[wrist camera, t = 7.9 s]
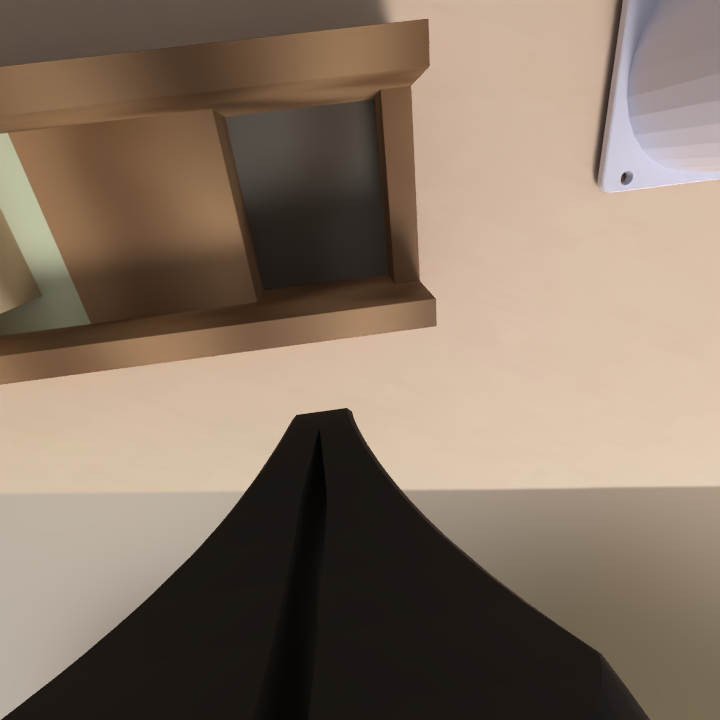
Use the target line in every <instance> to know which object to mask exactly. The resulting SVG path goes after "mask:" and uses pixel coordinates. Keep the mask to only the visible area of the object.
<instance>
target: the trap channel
mask: <svg viewBox="0 0 720 720" xmlns="http://www.w3.org/2000/svg"><path fill="white" fill-rule="evenodd" d="M429 66H430V63H429V26H428V19H422V20H413V21H404V22H395V23H386V24H377V25H368V26H359V27H350V28H341V29H333V30H324V31H315V32H306V33H297V34H288V35H279V36H270V37H261V38H252V39H243V40H235V41H226V42H217V43H208V44H199V45H190V46H181V47H172V48H163V49H154V50H145V51H137V52H128V53H119V54H110V55H101V56H92V57H83V58H74V59H65V60H56V61H47V62H39V63H30V64H21V65H12V66H3V67H0V208H1V210H2V212H3V214H4V217H5V219H6V221H7V223H8V225H9V227H10V229H11V231H12V233H13V235H14V238H15V240H16V242H17V244H18V246H19V248H20V250H21V252H22V254H23V256H24V258H25V261H26V263H27V265H28V267H29V269H30V271H31V273H32V275H33V277H34V279H35V282H36V284H37V286H38V288H39V290H40V292H41V294H42V296H41V297H39V298H36V299H34V300H32V301H29V302H27V303H25V304H22V305H20V306H17V307H15V308H13V309H10V310H8V311H6V312H3V313H1V314H0V385H1V384H8V383H16V382H23V381H31V380H38V379H45V378H53V377H60V376H68V375H75V374H83V373H90V372H98V371H105V370H113V369H120V368H127V367H135V366H142V365H150V364H157V363H165V362H172V361H180V360H187V359H195V358H202V357H209V356H217V355H224V354H232V353H239V352H247V351H254V350H262V349H269V348H277V347H284V346H291V345H299V344H306V343H314V342H321V341H329V340H336V339H344V338H351V337H359V336H366V335H373V334H381V333H388V332H396V331H403V330H411V329H418V328H426V327H433V326H436V298H435V297H434V296H433V295H432V294H431V293H430V292H429V291H428V290H427V289H426V287H425V286H424V285H423V284H422V283H421V282H420V279H419V256H418V233H417V211H416V188H415V166H414V143H413V121H412V98H411V85H412V84H413V83H414V82H415V81H416V80H417V79H418V78H419V77H420V76H421V75H422V74H423V72H424V71H425V70H426V69H427V68H428V67H429Z"/></svg>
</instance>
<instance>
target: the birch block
mask: <svg viewBox="0 0 720 720" xmlns="http://www.w3.org/2000/svg"><path fill="white" fill-rule="evenodd" d="M41 296H42V294H41V292H40V290H39V288H38V286H37V284H36V282H35V279H34V277H33V275H32V273H31V271H30V269H29V267H28V265H27V263H26V261H25V258H24V256H23V254H22V252H21V250H20V248H19V246H18V244H17V242H16V240H15V238H14V235H13V233H12V231H11V229H10V227H9V225H8V223H7V221H6V219H5V217H4V214H3V212H2V210H1V208H0V314H1V313H3V312H6V311H8V310H10V309H13V308H15V307H17V306H20V305H22V304H25V303H27V302H29V301H32V300H34V299H36V298H39V297H41Z"/></svg>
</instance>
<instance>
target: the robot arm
mask: <svg viewBox="0 0 720 720" xmlns="http://www.w3.org/2000/svg"><path fill="white" fill-rule="evenodd" d="M624 172H625V173H626V180H625V181H624V182H623V183H621V180H620V179H621V176H622V174H623V173H624ZM716 179H720V0H623V3H622V11H621V18H620V25H619V32H618V39H617V46H616V53H615V60H614V67H613V75H612V82H611V89H610V96H609V103H608V110H607V117H606V124H605V131H604V139H603V146H602V153H601V160H600V167H599V174H598V187H599V189H600V190H601V191H602V192H609V193H613V192H621V191H629V190H637V189H645V188H653V187H661V186H669V185H677V184H685V183H693V182H701V181H708V180H716ZM2 720H650V719H649V718H648V716H647V715H646V714H645V712H644V711H643V709H642V708H641V707H640V705H639V704H638V702H637V701H636V700H635V698H634V697H633V695H632V694H631V693H630V691H629V690H628V688H627V687H626V686H625V685H624V683H623V682H622V681H621V679H620V678H619V677H618V675H617V674H616V673H615V671H614V670H613V669H612V667H611V666H610V665H609V663H608V662H607V661H606V660H605V658H604V657H603V656H602V654H600V653H599V652H598V651H596V650H595V649H593V648H592V647H590V646H589V645H587V644H586V643H584V642H583V641H581V640H580V639H578V638H577V637H575V636H574V635H572V634H571V633H569V632H568V631H566V630H565V629H564V628H562V627H561V626H559V625H558V624H556V623H555V622H553V621H552V620H551V619H549V618H548V617H546V616H545V615H544V614H542V613H541V612H539V611H538V610H537V609H535V608H534V607H532V606H531V605H530V604H528V603H527V602H526V601H524V600H523V599H522V598H520V597H519V596H518V595H516V594H515V593H514V592H512V591H511V590H510V589H509V588H507V587H506V586H504V585H503V584H502V583H501V582H499V581H498V580H497V579H495V578H494V577H493V576H491V575H490V574H489V573H488V572H487V571H486V570H484V569H483V568H482V567H481V566H480V565H478V564H477V563H476V562H475V561H474V560H473V559H472V558H470V557H469V556H468V555H467V554H466V553H465V552H463V551H462V550H461V549H460V548H459V547H457V546H456V545H455V544H454V543H453V542H452V541H450V540H449V539H448V538H447V537H446V536H445V535H444V534H443V533H442V532H441V531H440V530H439V529H438V528H437V527H436V526H435V525H434V524H432V523H431V522H430V521H429V520H428V519H427V518H426V517H425V516H424V515H423V514H422V513H421V511H420V510H419V509H418V508H417V507H416V506H415V505H414V504H413V503H412V502H411V501H410V500H409V499H408V497H407V496H406V495H405V494H404V493H403V492H402V491H401V489H400V488H399V487H398V486H397V485H396V483H395V482H394V481H393V480H392V478H391V477H390V476H389V475H388V473H387V472H386V471H385V469H384V468H383V467H382V465H381V464H380V463H379V461H378V460H377V458H376V457H375V455H374V454H373V452H372V451H371V449H370V448H369V446H368V445H367V443H366V442H365V440H364V438H363V436H362V435H361V433H360V431H359V429H358V427H357V425H356V423H355V420H354V418H353V414H352V411H350V410H349V409H348V408H344V409H337V410H330V411H323V412H315V413H308V414H301V415H296V416H295V418H294V419H293V420H292V422H291V423H290V425H289V427H288V429H287V430H286V432H285V434H284V436H283V437H282V439H281V441H280V442H279V444H278V445H277V447H276V449H275V450H274V452H273V453H272V455H271V456H270V458H269V459H268V461H267V462H266V464H265V465H264V467H263V468H262V470H261V471H260V473H259V474H258V476H257V477H256V479H255V480H254V481H253V483H252V484H251V485H250V487H249V488H248V489H247V491H246V492H245V493H244V495H243V496H242V497H241V499H240V500H239V501H238V503H237V504H236V505H235V507H234V508H233V509H232V510H231V512H230V513H229V514H228V515H227V517H226V518H225V519H224V520H223V521H222V522H221V524H220V525H219V526H218V527H217V528H216V530H215V531H214V532H213V533H212V534H211V535H210V536H209V537H208V538H207V539H206V541H205V542H204V543H203V544H202V545H201V546H200V547H199V548H198V550H197V551H196V552H195V553H194V554H193V555H192V556H191V557H190V558H189V559H188V560H187V561H186V562H185V563H184V564H183V565H182V566H181V567H180V568H179V569H177V570H176V571H175V572H174V573H173V575H171V576H170V577H169V578H168V579H167V580H166V581H165V582H164V583H163V584H162V585H161V586H160V587H159V588H158V589H157V590H156V591H155V592H154V593H153V594H152V595H151V596H150V597H149V598H148V599H147V600H146V601H145V602H143V603H142V604H141V605H140V606H139V607H138V608H137V609H136V610H135V611H133V612H132V613H131V614H130V615H129V616H128V617H127V618H126V619H124V620H123V621H122V622H121V623H120V624H119V625H118V626H117V627H115V628H114V629H113V630H112V631H111V632H110V633H108V634H107V635H106V636H105V637H104V638H102V639H101V640H100V641H99V642H98V643H97V644H95V645H94V646H93V647H92V648H91V649H90V650H88V651H87V652H86V653H85V654H84V655H83V656H81V657H80V658H79V659H78V660H76V661H75V662H74V663H73V664H72V665H70V666H69V667H68V668H67V669H65V670H64V671H63V672H62V673H61V674H59V675H58V676H57V677H56V678H54V679H53V680H52V681H50V682H49V683H48V684H46V685H45V686H44V687H43V688H41V689H40V690H39V691H37V692H36V693H35V694H34V695H32V696H31V697H30V698H28V699H27V700H26V701H25V702H23V703H22V704H21V705H20V706H18V707H17V708H16V709H15V710H13V711H12V712H10V713H9V714H8V715H7V716H5V717H4V718H3V719H2Z"/></svg>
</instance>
